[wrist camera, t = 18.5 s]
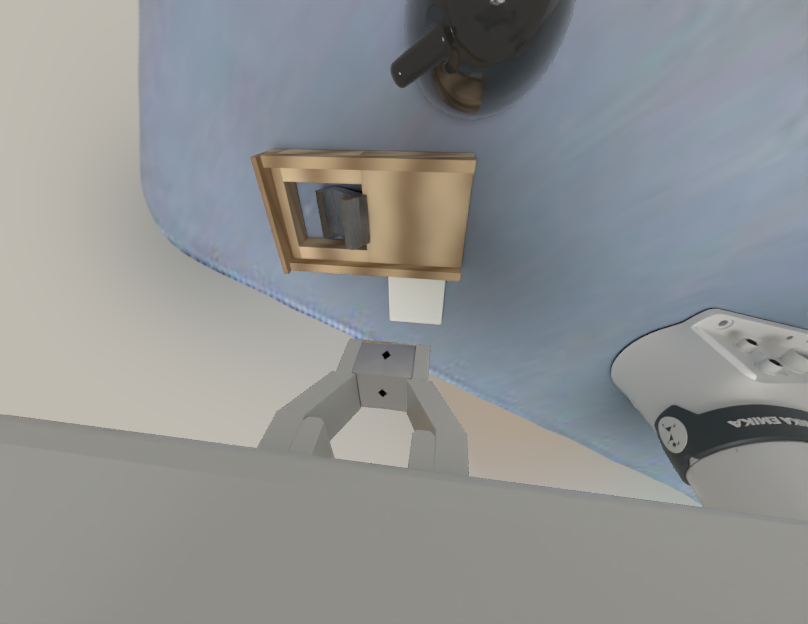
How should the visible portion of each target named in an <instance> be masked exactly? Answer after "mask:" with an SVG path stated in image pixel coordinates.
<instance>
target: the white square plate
mask: <svg viewBox="0 0 808 624" xmlns="http://www.w3.org/2000/svg"><path fill="white" fill-rule="evenodd" d="M388 284H389V309H390V321H401V322H414V323H426V324H438V325H441V320H442V310H443V300H444V290H445V280H431V279H415V278H400V277H388Z"/></svg>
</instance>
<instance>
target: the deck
mask: <svg viewBox="0 0 808 624" xmlns="http://www.w3.org/2000/svg"><path fill="white" fill-rule="evenodd" d="M250 158H251V161H252V165H253V168H254V171H255V175H256V178H257V182H258V185H259V189H260V192H261V195H262V199H263V202H264V206H265V209H266V213H267V216H268V219H269V223H270V226H271V230H272V233H273V237H274V240H275V243H276V247H277V250H278V254H279V257H280V261H281V264H282V268H283V271H284V274H289V273H290V271H291V270H293V271H308V272H324V273H339V274H354V275H370V276H385V277H400V278H415V279H431V280H446V281H460V277H461V262H462V255H463V247H464V239H465V232H466V224H467V217H468V209H469V202H470V194H471V187H472V179H473V173H475V166H476V158H475V155H474V153H460V152H411V151H361V150H312V149H272V150H269V151H266V152H263V153H261V154H258V155H255V156H252V157H250ZM296 182H312V183H343V184H362V194H365V195H366V197H367V210H368V223H369V236H370V243H368V244H366V245H364V246H361V247H359V248H357V249H354V250H350V249H348V248H346V244H345V240H341V239H322V238H307V233H306V229H305V224H304V219H303V215H302V210H301V205H300V201H299V196H298V192H297V187H296Z"/></svg>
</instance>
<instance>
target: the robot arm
mask: <svg viewBox="0 0 808 624" xmlns="http://www.w3.org/2000/svg"><path fill="white" fill-rule="evenodd" d="M429 361H430V346H429V345H415V344H402V343H388V342H379V341H370V340H359V339H350V340H349V341H348V343H347V346H346V348H345V351H344V353H343V356H342V358H341V360H340V363H339V365H338V368H337V370H336V371H332V372H330V373H329V374H328V375H326V376H325V377H323V378H322V379H321V380H319V381H318V382H317V383H315V384H314V385H312V386H311V387H310V388H309V389H307V390H306V391H304V392H303V393H302V394H300V395H299V396H297V397H296V398H295V399H293V400H292V401H291V402H289V403H288V404H286V405H285V406H284V407H282V408H281V409H280V410H278V411H277V412H276V414H275V416H274V417H273V419H272V421H271V423H270V425H269V427H268V429H267V431H266V432H265V434H264V436H263V438H262V440H261V441H260V443H259V445H258V447H257V448H252V447H244V446H236V445H229V444H221V443H214V442H207V441H199V440H192V439H184V438H177V437H169V436H162V435H154V434H147V433H139V432H132V431H124V430H116V429H109V428H102V427H94V426H87V425H79V424H72V423H64V422H56V421H49V420H41V419H34V418H27V417H19V416H12V415H0V624H808V330H805V329H801V328H796V327H792V326H788V325H784V324H780V323H775V322H771V321H767V320H763V319H759V318H755V317H750V316H746V315H742V314H738V313H734V312H729V311H725V310H721V309H709V310H706V311H704V312H702V313H699V314H698V315H696V316H694V317H692V318H690V319H688V320H687V321H685V322H683V323H680V324H678V325H675V326H671V327H668V328H665V329H661V330H658V331H656V332H653V333H651V334H648V335H646V336H644V337H642V338H640V339H639V340H637V341H635V342H634V343H632V344H631V345H629V346H628V347H627V348H626V349H624V350H623V351H622V352H621V353H620V354H619V356H618V357H617V358H616V360H615V361H614V363H613V365H612V369H611V378H612V380H613V382H614V384H615V385H616V386H617V387H618V388H619V389H620V390H621V391H622V392H623V393H624V394H625V395H626V396H627V397H628V398H629V399H630V402H631V403H632V404H633V406H634V407H635V408H636V409H638V410H639V412H640V413H641V414H642V415H643V417H644V418H645V419H646V421H647V422H648V423H649V425H650V426H651V427H652V429H653V430H654V431H655V432H656V434H657V435H658V437H659V440H660V442H661V444H662V447H663V450H664V451H665V453H666V455H667V456H668V458H669V460H670V462H671V463H672V465H673V467H674V469H675V470H676V472H677V473H678V474H679V476H680V477H681V479H682V480H683V481H684V482H685V483H686V484H687V485H689V486H691V488H692V489H693V491H694V493H695V494H696V496H697V498H698V499H699V501H700V503H701V504H702V506H703V507H696V506H688V505H681V504H673V503H666V502H658V501H651V500H643V499H635V498H628V497H620V496H613V495H605V494H598V493H590V492H582V491H575V490H567V489H559V488H552V487H545V486H537V485H529V484H522V483H515V482H507V481H499V480H492V479H484V478H477V477H469V470H468V469H469V467H468V446H467V434H466V432H465V431H464V429H463V428H462V427H461V425H460V423H459V422H458V420H457V419H456V417H455V416H454V414H453V413H452V411H451V410H450V408H449V407H448V405H447V403H446V402H445V400H444V399H443V397H442V396H441V394H440V393H439V391H438V390H437V388H436V387H435V385H434V384H433V382H432V381H428V374H429ZM361 407H371V408H382V409H390V410H397V411H405V412H407V415H408V417H409V419H410V421H411V423H412V426H413V428H414V430H415V431H414V432H413V433H412V440H411V447H410V455H409V463H408V468H402V467H395V466H387V465H380V464H372V463H364V462H356V461H349V460H342V459H335V458H334V455H333V451H332V448H331V445H330V440H331V439H332V438H333V437H334V436H335V435H336V434H337V432H339V431H340V430H341V429H342V428H343V426H344V425H345V424H346V423H347V422H348V421H349V420H350V419H351V418H352V417H353V416H354V415H355V414H356V413H357V412H358V411H359V409H360V408H361Z"/></svg>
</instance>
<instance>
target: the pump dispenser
mask: <svg viewBox="0 0 808 624" xmlns="http://www.w3.org/2000/svg"><path fill="white" fill-rule="evenodd" d="M575 2H576V0H406V8H405V23H404V30H405V44H406V51H405V52H404V53H403V54H402V55H401V56H400V57H398V58H397V59H396V60H395V61H394V62H393V63H392V65H391V75H392V78H393V80H394V82H395V83H396V85H397V86H398V87H400V88H404V87H406V86H407V85H409V84H410V83H412V82H414V81H415V80H416V82H417V84H418V86H419V87H420V89H421V91H422V92H423V94H424V95H425V96H426V97H427V99H428V100H429V101H430V102H431V103H432V104H433V105H435V106H436V107H437V108H438V109H440V110H441V111H443V112H445V113H446V114H449V115H451V116H454V117H457V118H461V119H482V118H487V117H490V116H493V115H496V114H498V113H500V112H502V111H504V110H506V109H508V108H509V107H511V106H512V105H514V104H515V103H516V102H518V101H519V100H520V99H521V98H523V97H524V96H525V95H526V94H527V93H528V92H529V91H530V90H531V89H532V88H533V87H534V86H535V85H536V83H537V82H538V81H539V80H540V79H541V77H542V76H543V75H544V73H545V72H546V70H547V69H548V68H549V66H550V64H551V63H552V61H553V60H554V58H555V56H556V54H557V52H558V50H559V48H560V46H561V44H562V42H563V40H564V37H565V35H566V32H567V30H568V27H569V24H570V21H571V18H572V14H573V11H574V7H575Z"/></svg>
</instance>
